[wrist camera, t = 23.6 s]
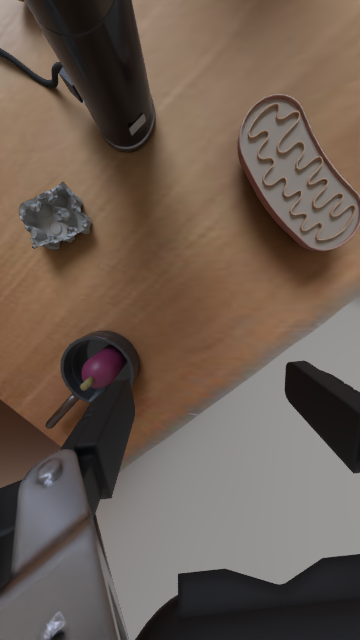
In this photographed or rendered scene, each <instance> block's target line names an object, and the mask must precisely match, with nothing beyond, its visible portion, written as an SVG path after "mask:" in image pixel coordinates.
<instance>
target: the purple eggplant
mask: <svg viewBox="0 0 360 640" xmlns="http://www.w3.org/2000/svg"><path fill="white" fill-rule="evenodd" d="M125 363H126V359H125V356H124V355H123V354H122V352H121V351H120V350H118V349H117V348H116V347H113V346H108V347H105V348H103V349H102V350H100V351H99V352H98V353H96V354H95V355H94V356H93V357H91V358H90V359H89V360H87V361H86V363H85V364H84V366H83V368H82V379H83V381H84V382H83V383H82V384H81V386H80V388H81V390H83V391H85V390H87V389H88V388H89V387H91V388H95V389H99V388H104V387H106V386H108V385H109V384H111V382H112V381H113V380H114V379H115V378H116V376H117V375H118V374H119V373H120V371H121V370H122V369H123V367H124V366H125Z"/></svg>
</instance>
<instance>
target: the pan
mask: <svg viewBox="0 0 360 640" xmlns="http://www.w3.org/2000/svg"><path fill="white" fill-rule="evenodd" d="M108 346H113V347H116V348H117V349H118V350H120V351H121V352H122V354H123V355H124V356H125V359H126V363H125V366H124V367H123V369H122V370H121V371H120V373H119V374H118V375H117V376H116V378H115V379H114V380H113V381H115V380H124V379H128V380H129V381H130V385H131V387H132V386H133V384H134V382H135V380H136V378H137V376H138V374H139V368H140V364H139V357H138V355H137V352H136V350H135V348H134V347H133V346H132V344H131V343H130V342H129V341H128V340H127V339H125V338H124V337H123V336H121V335H119V334H117V333H114V332H110V331H96V332H93V333H89V334H87V335H85V336H84V337H82V338H80V339H78V340H76V341H75V342H73V343H71V344H70V345H69V346H68V348H67V349H66V350H65V351H64V354H63V356H62V359H61V367H60V368H61V374H62V378H63V380H64V382H65V384H66V386H67V387H68V389H69V390H70V391H71V392H72V393H73V394H74V395H75V396H77V397H78V398H79V399H81V400H83V401H85V402H87V403H90V404H91V402H92V400H93V399H95V398H96V397H97V396H98V395H99V394H100V393H102V392H106V391H107V389H108V388H109V386H110V384H109V385H108V386H106V387H104V388H99V389H95V388H91V387H89V388H88V389H87V390H85V391H83V390H81V388H80V386H81V384H82V383H83V382H84V381H83V379H82V368H83V366H84V364H85V363H86V361H87V360H89V359H90V358H91V357H93V356H94V355H95V354H96V353H98V352H99V351H100V350H102V349H103V348H105V347H108Z"/></svg>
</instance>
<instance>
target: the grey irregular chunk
mask: <svg viewBox="0 0 360 640" xmlns="http://www.w3.org/2000/svg"><path fill="white" fill-rule="evenodd" d="M82 204H83V203H82V201H81V199H80V198H78V197H77V196H76V195H74V194H73V193H72V191H71V190H70V189H69V188H68V186H67V185H66V184H65V183H64V182H62V183H61V184H59V185H58V186H56V188H55V189H53V190H52V189H50V191H44V192H43V193H42V194H41V195H39V196H36V197H35V198H34V199H31V200H28V201H25V202H23V203H22V204H20V207H19V215H20V217H21V220H22V221H23V222H24V224H25V226H26V227H25V228H26V230H27V231H29V232H30V233H31V235H32V237H33V238H31V242H32V244H33V246H32V248H34V249H35V248H38V246H44V247H47V248H48V249H51V250H58V249H59V248H60V242H61V241H62V240H64V241H67V242H70V243H71V242H72V241H73V240H75V235H76V234H77V233H79V232H81V233H84V234H85V235H86V234H89V233H90V226H91V224H92V221H91V219H90V218H89V217H88V216H86V215H85V214H83V213H81V206H82Z"/></svg>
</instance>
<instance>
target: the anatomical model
mask: <svg viewBox="0 0 360 640" xmlns="http://www.w3.org/2000/svg"><path fill="white" fill-rule="evenodd" d="M238 157H239V160H240V164H241V166H242V168H243V170H244V172H245V174H246V176H247V178H248V180H249V181H250V183H251V185H252V187H253V189H254V191H255V193H256V195H257V197H258V198H259V200H260V201H261V203H262V204H263V206H264V207H265V209H266V210H267V212H268V213H269V214H270V215H271V217H272V218H273V219H274V220H275V222H276V223H277V224H278V225H279V226H280V227H281V228H282V229H283V230H284V231H285V232H286V233H287V234H289V235H290V236H291V237H292V238H293V239H294V240H295V241H296V242H297V243H298V244H299V245H300V246H302V247H303V248H305V249H308V250H311V251H328V250H332V249H336V248H338V247H340V246H342V245H343V244H345V243H346V242H347V241H349V240H350V239H351V238H352V237H353V235H354V234H355V233H356V231H357V229H358V228H359V226H360V195H359V194H358V193H357V192H356V190H355V189H354V188H353V187H352V186H351V185H350V184H349V183H348V182H347V181H346V180H345V179H344V178H343V177H342V176H341V174H340V173H339V172H338V171H337V170H336V168H335V167H334V166H333V164H332V163H331V162H330V160H329V159H328V157H327V156H326V154H325V153H324V151H323V149H322V148H321V146H320V144H319V142H318V140H317V138H316V136H315V134H314V132H313V130H312V128H311V126H310V123H309V121H308V119H307V117H306V114H305V112H304V110H303V108H302V106H301V104H300V103H299V102H298V101H297V100H296V99H294V98H293V97H291V96H289V95H286V94H272V95H269V96H266V97H264V98H262V99H260V100H259V101H258V102H256V103H255V104H254V105H253V106H252V107H251V108H250V110H249V111H248V113H247V114H246V116H245V118H244V120H243V122H242V125H241V128H240V132H239V137H238Z"/></svg>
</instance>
